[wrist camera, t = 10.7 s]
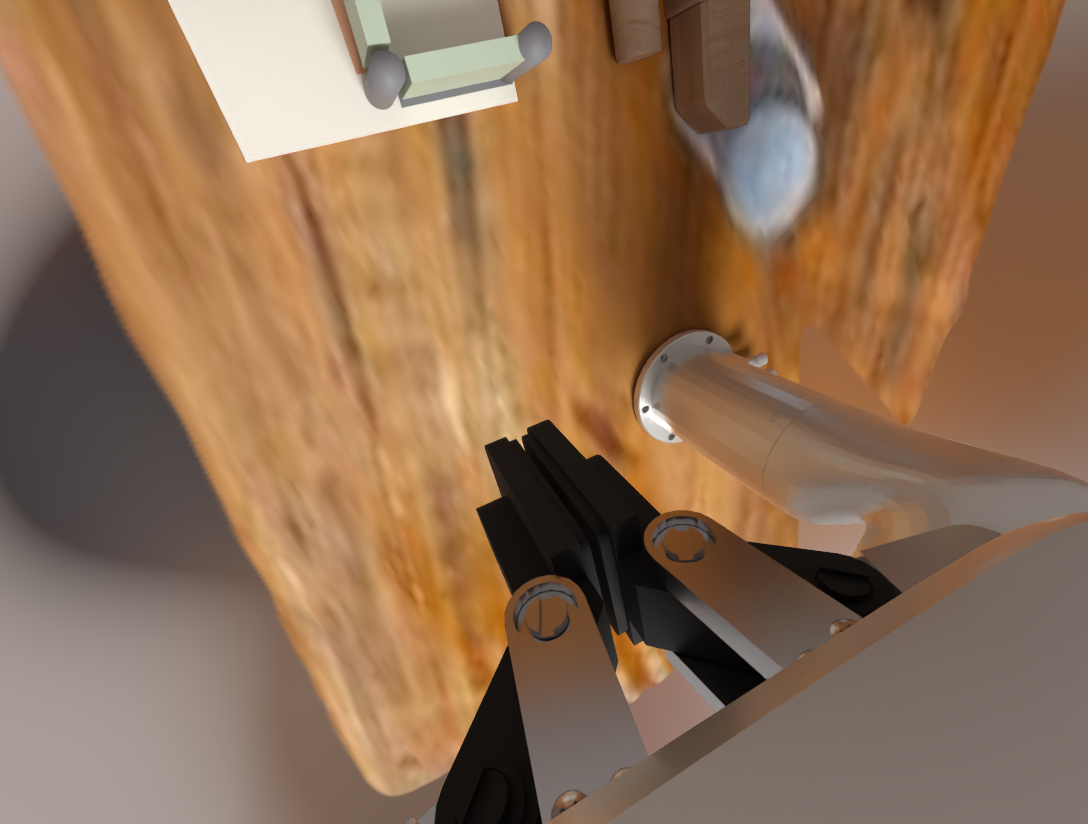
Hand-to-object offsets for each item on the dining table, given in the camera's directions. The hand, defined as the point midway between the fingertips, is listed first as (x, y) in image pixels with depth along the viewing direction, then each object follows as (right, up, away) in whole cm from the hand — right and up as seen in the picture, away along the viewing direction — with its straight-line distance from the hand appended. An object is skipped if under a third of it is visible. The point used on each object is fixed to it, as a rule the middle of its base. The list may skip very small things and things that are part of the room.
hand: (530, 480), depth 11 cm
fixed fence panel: (-6, +24, +18) cm, 31 cm away
